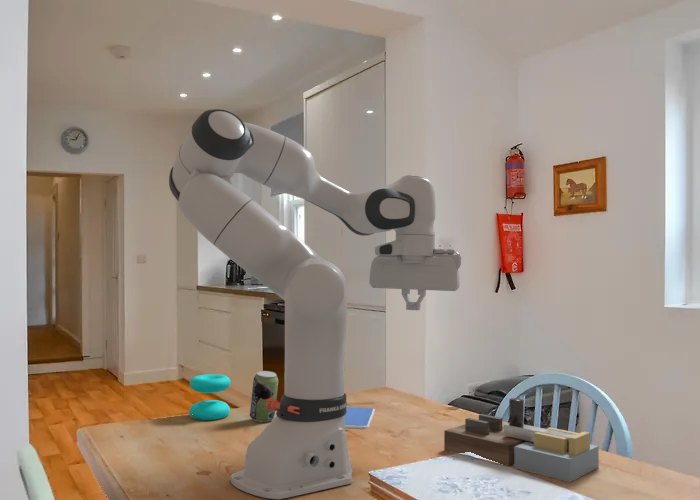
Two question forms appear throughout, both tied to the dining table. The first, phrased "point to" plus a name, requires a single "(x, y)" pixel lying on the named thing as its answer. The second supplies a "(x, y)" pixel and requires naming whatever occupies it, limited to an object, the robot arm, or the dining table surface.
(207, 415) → the donuts
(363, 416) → the tablet computer
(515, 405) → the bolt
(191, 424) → the dining table surface
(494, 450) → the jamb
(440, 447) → the dining table surface
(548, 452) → the stacked blocks
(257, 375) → the beverage can
